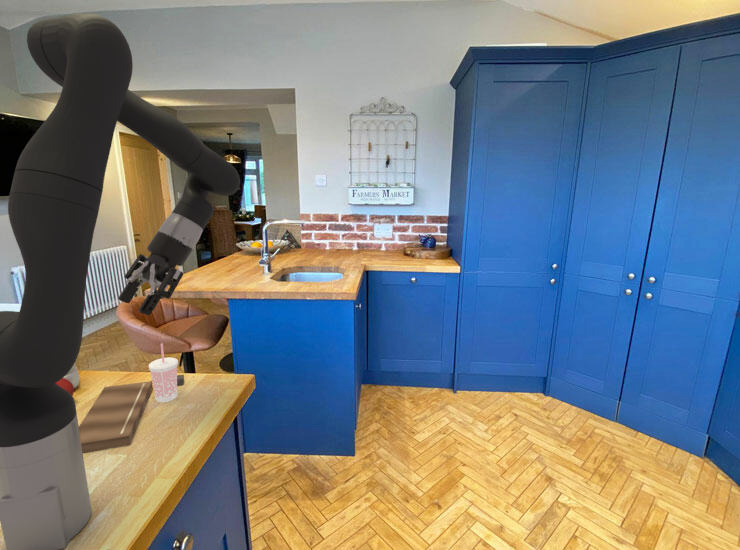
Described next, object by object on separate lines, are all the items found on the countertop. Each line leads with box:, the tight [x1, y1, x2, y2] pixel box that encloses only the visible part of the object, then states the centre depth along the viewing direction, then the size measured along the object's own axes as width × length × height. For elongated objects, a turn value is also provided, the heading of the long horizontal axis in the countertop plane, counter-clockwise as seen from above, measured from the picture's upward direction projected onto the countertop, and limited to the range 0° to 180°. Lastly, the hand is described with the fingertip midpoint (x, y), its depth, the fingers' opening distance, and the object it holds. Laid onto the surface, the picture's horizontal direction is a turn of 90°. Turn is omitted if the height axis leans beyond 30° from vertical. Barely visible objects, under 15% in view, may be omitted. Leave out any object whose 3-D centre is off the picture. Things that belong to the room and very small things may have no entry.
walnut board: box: [79, 374, 185, 453], centre depth 81 cm, size 24×17×2 cm
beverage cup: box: [148, 342, 179, 403], centre depth 86 cm, size 6×6×14 cm
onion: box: [56, 378, 75, 396], centre depth 81 cm, size 6×6×8 cm
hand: (133, 307), depth 73 cm, fingers open, 8 cm apart
